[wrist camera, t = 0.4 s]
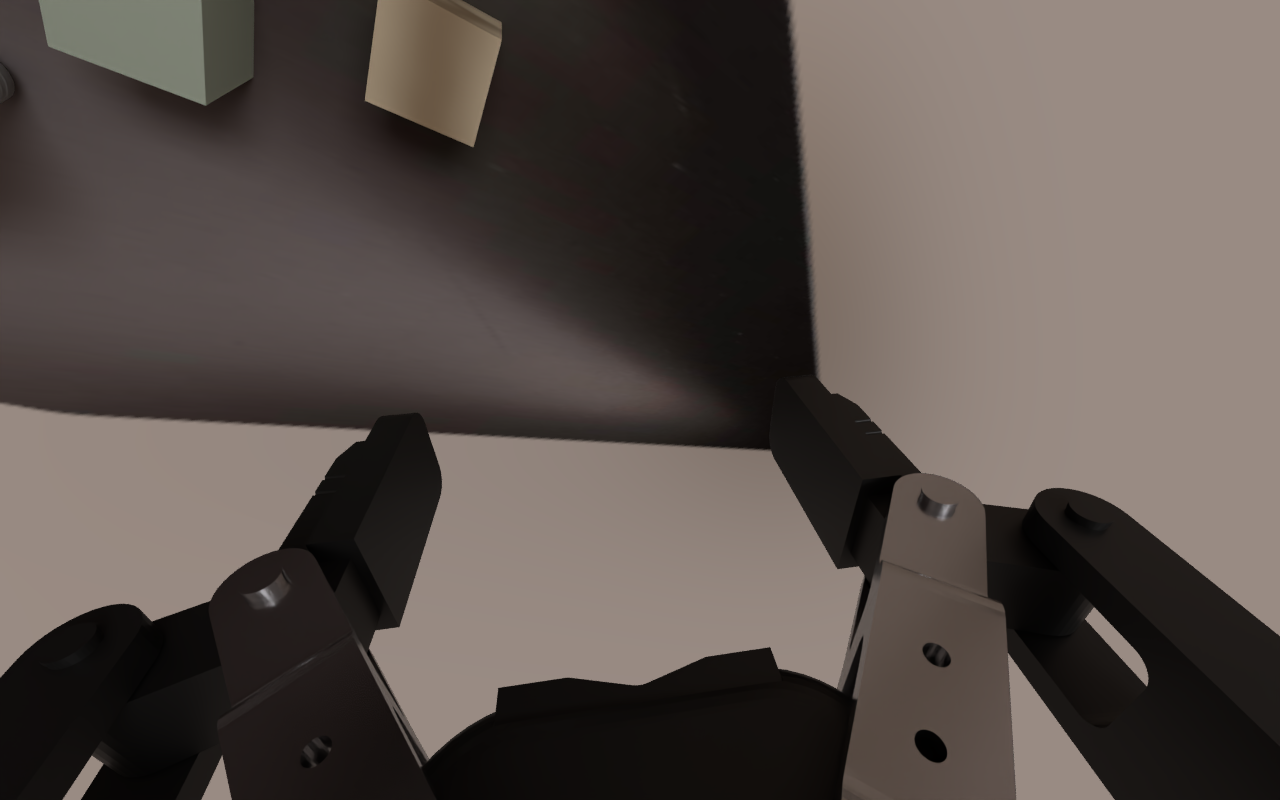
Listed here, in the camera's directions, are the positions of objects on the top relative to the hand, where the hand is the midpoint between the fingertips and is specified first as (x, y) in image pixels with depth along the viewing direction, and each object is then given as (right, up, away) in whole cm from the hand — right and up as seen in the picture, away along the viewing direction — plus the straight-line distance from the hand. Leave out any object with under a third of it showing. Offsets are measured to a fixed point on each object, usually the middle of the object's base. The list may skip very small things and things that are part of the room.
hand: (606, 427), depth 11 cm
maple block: (-10, +20, +16) cm, 27 cm away
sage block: (-21, +20, +12) cm, 32 cm away
